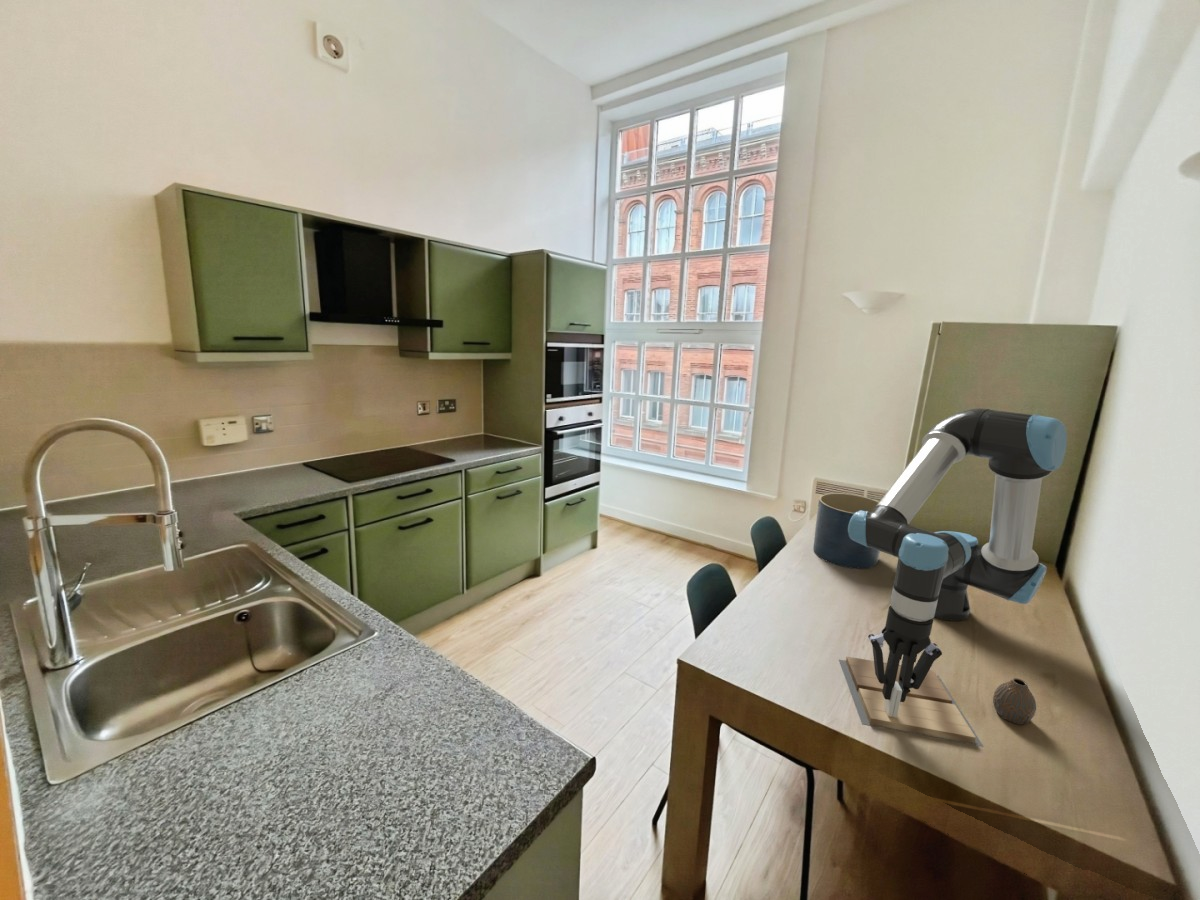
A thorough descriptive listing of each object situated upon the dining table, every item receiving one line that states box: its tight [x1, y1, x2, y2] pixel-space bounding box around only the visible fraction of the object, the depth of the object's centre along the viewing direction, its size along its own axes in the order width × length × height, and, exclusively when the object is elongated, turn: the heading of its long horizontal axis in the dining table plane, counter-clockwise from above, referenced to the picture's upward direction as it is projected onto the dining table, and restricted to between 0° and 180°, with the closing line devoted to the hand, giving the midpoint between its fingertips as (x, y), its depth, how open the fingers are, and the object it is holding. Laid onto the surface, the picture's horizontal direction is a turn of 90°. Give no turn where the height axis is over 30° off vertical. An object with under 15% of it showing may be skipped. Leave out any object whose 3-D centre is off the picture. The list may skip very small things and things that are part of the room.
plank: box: [858, 688, 976, 744], centre depth 103 cm, size 19×9×2 cm, turn 77°
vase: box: [992, 677, 1037, 725], centre depth 104 cm, size 7×7×9 cm
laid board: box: [845, 656, 953, 704], centre depth 113 cm, size 19×10×2 cm, turn 77°
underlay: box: [838, 659, 984, 748], centre depth 109 cm, size 22×21×1 cm
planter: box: [813, 492, 881, 570], centre depth 177 cm, size 22×22×20 cm
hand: (890, 711), depth 102 cm, fingers closed
